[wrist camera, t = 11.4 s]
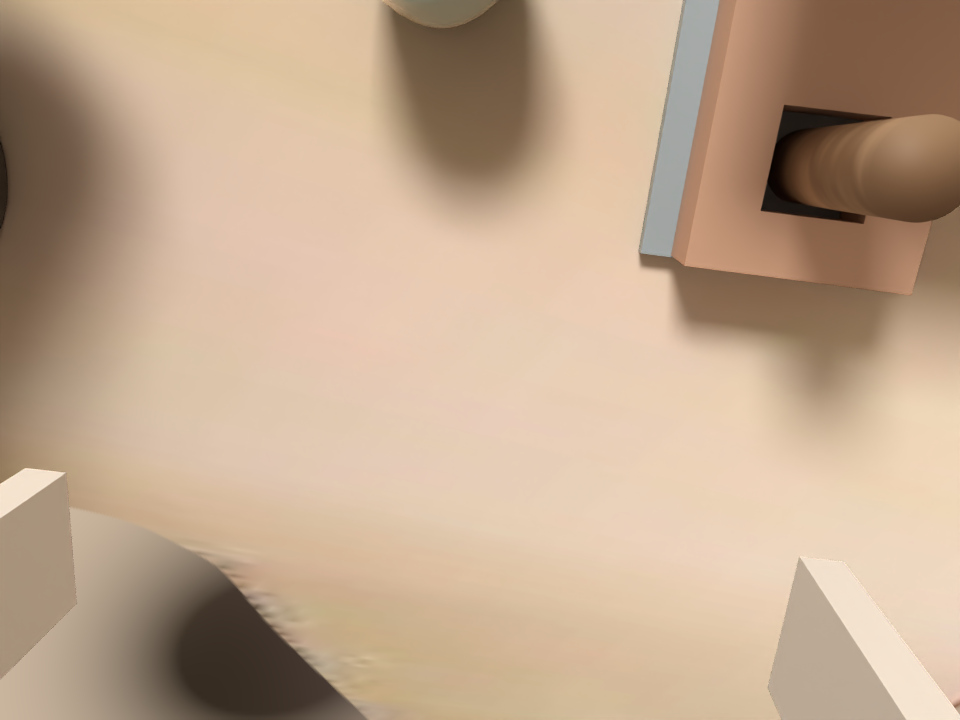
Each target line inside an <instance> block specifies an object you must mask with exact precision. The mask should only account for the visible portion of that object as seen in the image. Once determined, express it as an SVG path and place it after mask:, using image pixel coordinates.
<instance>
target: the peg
mask: <svg viewBox="0 0 960 720" xmlns="http://www.w3.org/2000/svg"><path fill="white" fill-rule="evenodd" d="M767 182H768V185H769V187H770V189H771V190H772V191H773V193H774V194H775V195H776V196H778V197H779V198H780V199H782V200H784V201H787V202H790V203H795V204H802V205H808V206H814V207H820V208H826V209H832V210H838V211H844V212H850V213H856V214H862V215H868V216H874V217H880V218H886V219H892V220H898V221H904V222H912V223H921V222H928V221H932V220H935V219H938V218H940V217H943V216H945V215H946V214H948V213H950V212H951V211H953V210H954V209H955V208H957V207H958V206H959V205H960V122H959V121H958V120H956V119H954V118H951V117H948V116H944V115H938V114H928V115H919V116H910V117H902V118H894V119H885V120H877V121H869V122H860V123H852V124H844V125H835V126H827V127H819V128H810V129H802V130H797V131H794V132H791V133H789V134H787V135H786V136H784V137H783V138H781V139H780V140H779V141H778V142H777V143H776V144H775V148H774V152H773V157H772V162H771V166H770V171H769V175H768V180H767Z"/></svg>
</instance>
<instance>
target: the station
mask: <svg viewBox="0 0 960 720" xmlns="http://www.w3.org/2000/svg"><path fill="white" fill-rule="evenodd" d="M928 114H938V115H944V116H948V117H951V118H954V119H956V120H958V121H959V122H960V0H683V4H682V10H681V16H680V21H679V27H678V32H677V38H676V44H675V49H674V55H673V60H672V66H671V72H670V77H669V83H668V88H667V94H666V100H665V105H664V111H663V117H662V122H661V128H660V133H659V139H658V145H657V150H656V156H655V161H654V167H653V173H652V178H651V184H650V189H649V195H648V201H647V206H646V212H645V217H644V223H643V229H642V234H641V240H640V245H639V252H640V253H642V254H650V255H658V256H666V257H673V258H675V259H676V260H678V261H679V262H680V263H681V264H683V265H684V266H690V267H697V268H705V269H713V270H720V271H728V272H736V273H743V274H751V275H759V276H767V277H774V278H782V279H790V280H797V281H805V282H813V283H821V284H828V285H836V286H844V287H851V288H859V289H867V290H874V291H882V292H890V293H898V294H905V295H911V294H912V291H913V287H914V284H915V280H916V277H917V273H918V270H919V266H920V263H921V259H922V256H923V252H924V249H925V245H926V242H927V238H928V235H929V231H930V228H931V224H932V221H933V220H932V221H928V222H921V223H912V222H904V221H898V220H892V219H886V218H880V217H874V216H868V215H862V214H856V213H850V212H844V211H838V210H832V209H826V208H820V207H814V206H808V205H802V204H795V203H790V202H787V201H784V200H782V199H780V198H779V197H778V196H776V195H775V194H774V193H773V191H772V190H771V189H770V187H769V185H768V182H767V180H768V175H769V171H770V166H771V162H772V157H773V152H774V148H775V144H776V143H777V142H778V141H779V140H780V139H781V138H783V137H784V136H786V135H787V134H789V133H791V132H794V131H797V130H802V129H810V128H819V127H827V126H835V125H844V124H852V123H860V122H869V121H877V120H885V119H894V118H902V117H910V116H919V115H928Z"/></svg>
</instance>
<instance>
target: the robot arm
mask: <svg viewBox="0 0 960 720" xmlns="http://www.w3.org/2000/svg"><path fill="white" fill-rule="evenodd" d="M6 200H7V174H6V166H5V160H4V155H3V151H2V147H1V143H0V228H1V225H2V221H3V218H4V213H5V208H6ZM76 604H77V601H76V588H75V575H74V563H73V550H72V537H71V525H70V512H69V499H68V487H67V474H66V473H65V472H57V471H48V470H39V469H30V468H25V469H23V470H21V471H20V472H18V473H17V474H15V475H13V476H12V477H10V478H9V479H7V480H5V481H4V482H2V483H1V484H0V679H1V678H2V677H3V676H4V675H5V674H6V673H7V672H8V671H9V670H10V669H11V668H12V667H13V666H15V665H16V664H17V662H18V661H20V660H21V658H22V657H24V655H26V654H27V653H28V651H30V650H31V649H32V648H33V647H34V646H35V645H36V643H38V642H39V641H40V640H41V639H42V638H43V637H44V636H45V635H46V634H47V633H48V632H49V630H50V629H52V628H53V627H54V626H55V625H56V623H58V621H60V620H61V619H62V618H63V617H64V616H65V615H66V614H67V613H68V612H69V611H70V610H71V609H72V608H73V607H74V606H75V605H76ZM768 690H769V692H770V695H771V697H772V699H773V701H774V704H775V706H776V708H777V711H778V713H779V715H780V718H781V720H960V714H959V713H958V712H957V710H956V709H955V708H954V706H953V705H952V704H951V702H950V701H949V700H948V698H947V697H946V696H945V695H944V693H943V692H942V691H941V689H940V688H939V687H938V685H937V684H936V683H935V681H934V680H933V679H932V677H931V676H930V675H929V673H928V672H927V671H926V669H925V668H924V667H923V665H922V664H921V663H920V661H919V660H918V659H917V657H916V656H915V655H914V653H913V652H912V651H911V649H910V648H909V647H908V646H907V644H906V643H905V642H904V640H903V639H902V638H901V636H900V635H899V634H898V632H897V631H896V630H895V628H894V627H893V626H892V624H891V623H890V622H889V620H888V619H887V618H886V616H885V615H884V614H883V612H882V611H881V610H880V608H879V607H878V606H877V604H876V603H875V602H874V601H873V599H872V598H871V597H870V595H869V594H868V593H867V591H866V590H865V589H864V587H863V586H862V585H861V583H860V582H859V581H858V579H857V578H856V577H855V575H854V574H853V573H852V571H851V570H850V569H849V567H848V566H847V565H846V563H845V562H844V561H835V560H827V559H818V558H809V557H800V556H799V560H798V564H797V568H796V572H795V576H794V580H793V584H792V589H791V593H790V597H789V601H788V605H787V609H786V613H785V618H784V622H783V626H782V630H781V634H780V638H779V642H778V647H777V651H776V655H775V659H774V663H773V667H772V671H771V676H770V680H769V684H768Z"/></svg>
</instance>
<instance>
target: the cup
mask: <svg viewBox="0 0 960 720" xmlns="http://www.w3.org/2000/svg"><path fill="white" fill-rule="evenodd" d="M382 1H383V2H384V3H385V4H387V5H388V6H389V7H391V8H392V9H393V10H395V11H396V12H397V13H398V14H400V15H402V16H403V17H405V18H407V19H409V20H412V21H414V22H416V23H418V24H420V25H424V26H429V27H433V28H452V27H455V26H459V25H462V24H466V23H468V22H470V21H471V20H473V19H475V18H477V17H479V16H480V15H482V14H483V13H484V12H486V11H487V10H488V9H489V8H491V7H492V6H493V5H494V4H495V3H496V2H497V0H382Z"/></svg>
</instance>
